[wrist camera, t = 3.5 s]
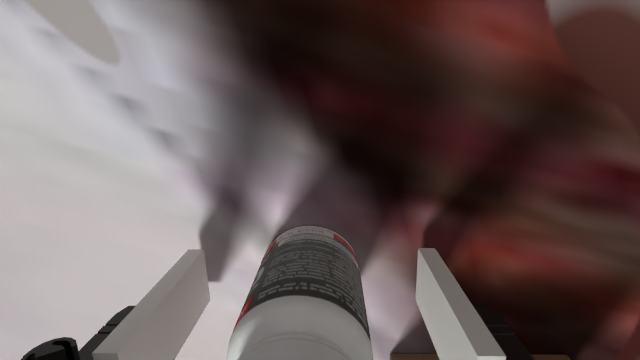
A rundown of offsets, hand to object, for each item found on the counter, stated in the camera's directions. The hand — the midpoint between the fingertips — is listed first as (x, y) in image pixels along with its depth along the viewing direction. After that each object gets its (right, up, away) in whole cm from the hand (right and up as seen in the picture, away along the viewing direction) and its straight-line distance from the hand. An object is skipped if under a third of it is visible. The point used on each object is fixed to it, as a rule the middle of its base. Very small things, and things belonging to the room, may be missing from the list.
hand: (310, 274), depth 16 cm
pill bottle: (0, 0, +1) cm, 1 cm away
